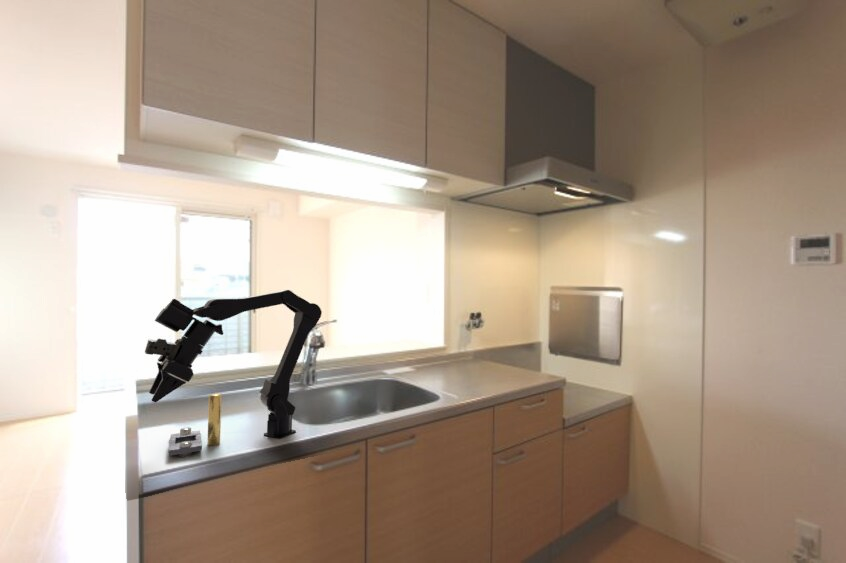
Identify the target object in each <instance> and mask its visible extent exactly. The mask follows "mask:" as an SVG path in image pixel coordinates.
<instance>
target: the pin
mask: <svg viewBox="0 0 846 563" xmlns="http://www.w3.org/2000/svg"><path fill="white" fill-rule="evenodd" d="M207 411H208V412H207V413H208V414H207V415H208V416H207V419H208V420H207V441H206V442H207V446H208V447H215V446H220V444H221V424H222V423H221V422H222V393H212V394H209V395H208V410H207Z"/></svg>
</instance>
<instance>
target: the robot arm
mask: <svg viewBox="0 0 846 563" xmlns="http://www.w3.org/2000/svg"><path fill="white" fill-rule="evenodd" d="M278 305H284V306H285V307H287V308H288V309H289V310H290V311H291V312H293V313H294V317H293V329H292V332H291V334H290V337H289V338H288V339H289V340H288V342H287V344H286V347H285V349H284V352H283V354H282V357H281V359H280V361H279V363H278V365H277V369H276V371H275V374H274V375H273V377H272V378H271V379H270V380H269V379H267V378H266V379H264V382H263V386H262V388H261V389H260V391H259V393H260V401H261V404H262V405H263V406H265V407H266V408H267V411H268V412H269V413H268V414H267V415H268V416H267V417H268V419H267V422H266V428H267V430H266V432H264V433H263V437H264V436H265V437H267V438H268V437H269V438H272V439H279V440H281V439H283V438H286V437H288V436H290V435H293V434H295V433H297V430H295V429H293V415H294V414H295V410H296V406H295V405H293V404H292V403H291V402H290V401H289V395H290V389H291V388H290V387H291V386H290V385H291V378H292V375H293V373H294V371H295V368H296V366H297V364H298V361H299V358H300V355H301V353H302V351H303V348H304V346H305V343H306V340H307V338H308V335H310V333H311V331H312V330H313V329H314V328H315V327H316V326H317V325H318V323H319V320H321V317H322V312H323V311H322V309H321V307H320V306H319V305H318V304H317V303H313V302H309V301H307V300H306V299H304V298H303V297H301V296H299V295H298V294H296V293H294V291H293V290H290V289H284V290H283V289H282V290H280V291H276V292H275V291H274V292H269V293H264V294H258V295H252V296H248V297H241V298H212V299H210V300H208V301H206V302H205V303H204V305H203V306H202V305H201V306H200V307H199V306H198V307H195V308H194V309H192V308H190V307H189V306H187V305H185V304H183V303H181V301H180V300H178V299H176V298H172V299H171V301H169V303H168V304H167V305H166V306H165V307H164V308H162V310H160V311H159V313H158V314H157V315H156V318H154V322H156V323H158V324H159V325H160V324H161V325H162V326H163V327H166V328H167V329H169V330H171V331H173V332H175V333H178V332H179V331H182V332H184V331H185V330H186V331H185V332H184V334H183V335H182V336H181V338H177V339H176V340H175V342H171V341H167V340H166V339H163V338H157V339H147V343H146V346H145V349H144V354H146V355H149V356H150V355H156V356H157V355H158V356H159V357H158V358H157V362H156V365H157V370H158V371H157V373H156V377H155V378H154V380H153V383H152V385H151V387H150V390H149V392H148V393H149V394H150V395H153V396H152V397H151V402H153V403H157V402H159V401H160V400H162V399H163V398H164V397H166V396H168V395H169V394H171V393H173V392H174V391H175V390H177V389H178V388H180V387H181V386H183V385H185V384H187V383H189V382H190V380H191V379H192V378H193V377H194V371H193V368H192V367H193V363H194V362H195V360H196V359H197V358H198V356H199V355H202V354H203V349H204V347H205V346H206V345H207V343H208V342H209V341H210V339H211V337H213V335H214V334H219V335H221V336H223V335H224V331H223V324H220V323H219V324H215V323H213V322H212V321H215V322H221V321H225V320H228V319H230V318H233V317H235V316H238V315H240V314H242V313H244V312H248V311H254V310H259V309H264V308H268V307H274V306H278ZM194 316H195V317H197V318H195V317H194ZM198 318H207V319H206V320H204V321H202V320H199V319H198ZM210 320H212V321H210ZM192 321H193V322H192ZM188 327H189V328H188Z"/></svg>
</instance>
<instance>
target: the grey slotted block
mask: <svg viewBox="0 0 846 563" xmlns="http://www.w3.org/2000/svg"><path fill="white" fill-rule="evenodd" d="M202 450H203V443H202V433H201V431H200V430H194V431H192V427H182V428H181V429H179V432H178V433H172V434H170V436H169V444H168V456H176V455H178V456H179V458H187V457H191V455H192V453H194V452H201V451H202Z"/></svg>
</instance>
